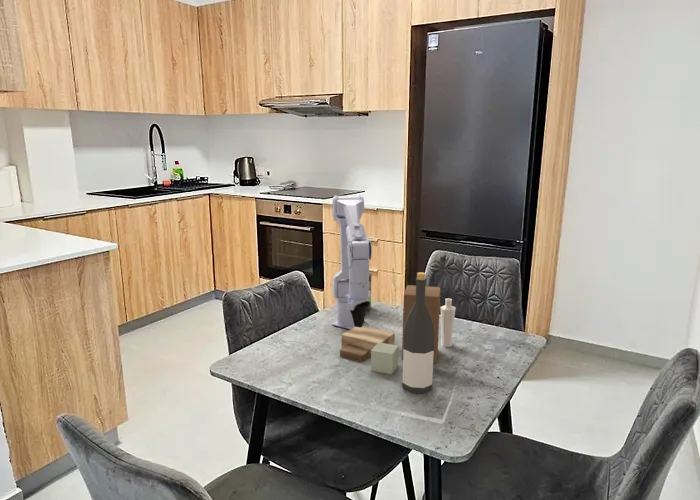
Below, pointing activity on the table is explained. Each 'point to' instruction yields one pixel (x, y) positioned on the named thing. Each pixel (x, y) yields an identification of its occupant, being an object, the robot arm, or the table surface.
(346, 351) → the walnut block
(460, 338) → the table surface
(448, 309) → the perfume bottle
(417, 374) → the wine bottle
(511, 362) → the table surface
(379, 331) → the oak step
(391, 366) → the sage cube
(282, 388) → the table surface
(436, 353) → the wooden block
